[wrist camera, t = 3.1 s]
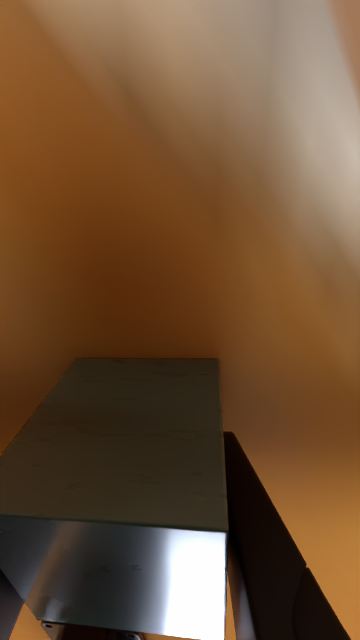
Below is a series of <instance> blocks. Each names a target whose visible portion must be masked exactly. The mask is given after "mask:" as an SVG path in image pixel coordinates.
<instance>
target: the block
mask: <svg viewBox="0 0 360 640" xmlns="http://www.w3.org/2000/svg"><path fill="white" fill-rule="evenodd" d="M228 539H229V523H228V506H227V488H226V471H225V454H224V437H223V419H222V402H221V385H220V368H219V360H218V359H75V360H74V361H73V362H72V364H71V365H70V366H69V368H68V369H67V370H66V372H65V373H64V374H63V375H62V377H61V378H60V379H59V381H58V382H57V383H56V385H55V386H54V387H53V389H52V390H51V391H50V392H49V394H48V395H47V396H46V398H45V399H44V400H43V402H42V403H41V404H40V405H39V407H38V408H37V409H36V411H35V412H34V413H33V415H32V416H31V417H30V418H29V420H28V421H27V422H26V424H25V425H24V426H23V428H22V429H21V430H20V431H19V433H18V434H17V435H16V437H15V438H14V439H13V441H12V442H11V443H10V444H9V446H8V447H7V448H6V450H5V451H4V452H3V454H2V455H1V456H0V569H1V570H2V571H3V573H4V574H5V576H6V577H7V578H8V580H9V581H10V582H11V584H12V585H13V587H14V588H15V589H16V591H17V592H18V594H19V595H20V596H21V598H22V599H23V601H24V602H25V603H26V605H27V606H28V607H29V609H30V610H31V612H32V613H33V614H34V616H35V617H36V619H37V620H44V621H53V622H61V623H69V624H78V625H86V626H95V627H103V628H111V629H120V630H128V631H136V632H145V633H153V634H161V635H170V636H178V637H187V638H195V639H203V640H225V632H226V601H227V570H228Z"/></svg>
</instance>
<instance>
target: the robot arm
mask: <svg viewBox="0 0 360 640" xmlns="http://www.w3.org/2000/svg"><path fill="white" fill-rule="evenodd" d="M223 437H224V454H225V471H226V488H227V506H228V523H229V539H228V570H227V571H228V579H229V586H230V594H231V601H232V609H233V616H234V624H235V631H236V639H237V640H351V639H350V637H349V635H348V634H347V632H346V631H345V629H344V628H343V626H342V624H341V623H340V621H339V619H338V618H337V616H336V614H335V612H334V611H333V609H332V607H331V606H330V604H329V602H328V601H327V599H326V597H325V595H324V594H323V592H322V590H321V589H320V587H319V585H318V583H317V581H316V580H315V578H314V576H313V574H312V572H311V571H310V569H309V568H306V562H305V560H304V558H303V557H302V555H301V553H300V551H299V549H298V548H297V546H296V544H295V542H294V540H293V539H292V537H291V535H290V533H289V531H288V530H287V528H286V526H285V524H284V523H283V521H282V519H281V517H280V515H279V514H278V512H277V510H276V508H275V506H274V505H273V503H272V501H271V499H270V497H269V496H268V494H267V492H266V490H265V488H264V487H263V485H262V483H261V481H260V480H259V478H258V476H257V474H256V472H255V471H254V469H253V467H252V465H251V463H250V462H249V460H248V458H247V456H246V454H245V453H244V451H243V449H242V447H241V445H240V444H239V442H238V440H237V438H236V436H235V435H234V433H233V432H224V431H223ZM23 604H24V601H23V599H22V598H21V596H20V595H19V594H18V592H17V591H16V589H15V588H14V587H13V585H12V584H11V582H10V581H9V580H8V578H7V577H6V576H5V574H4V573H3V571H2V570H1V569H0V640H9V638H10V635H11V633H12V630H13V628H14V625H15V623H16V621H17V618H18V616H19V613H20V611H21V608H22V606H23ZM41 626H42V627H43V628H44V630H45V631H46V633H47V634H48V635H49V637H50V638H51V640H144V638H143V635H142V632H136V631H128V630H120V629H111V628H103V627H95V626H86V625H78V624H69V623H61V622H53V621H44V620H42V623H41Z"/></svg>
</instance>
